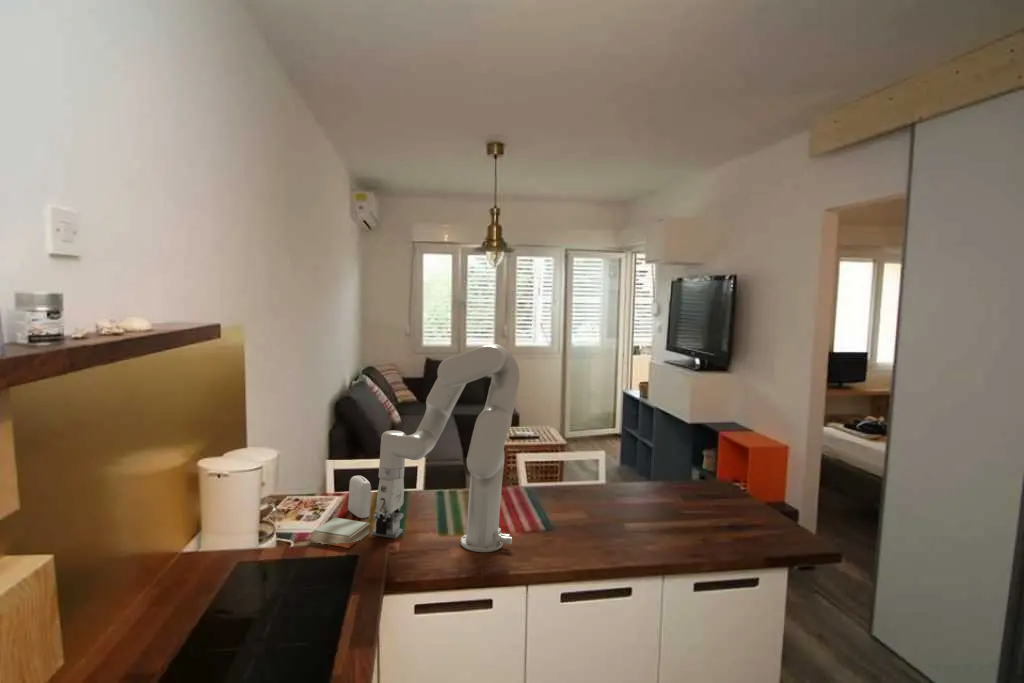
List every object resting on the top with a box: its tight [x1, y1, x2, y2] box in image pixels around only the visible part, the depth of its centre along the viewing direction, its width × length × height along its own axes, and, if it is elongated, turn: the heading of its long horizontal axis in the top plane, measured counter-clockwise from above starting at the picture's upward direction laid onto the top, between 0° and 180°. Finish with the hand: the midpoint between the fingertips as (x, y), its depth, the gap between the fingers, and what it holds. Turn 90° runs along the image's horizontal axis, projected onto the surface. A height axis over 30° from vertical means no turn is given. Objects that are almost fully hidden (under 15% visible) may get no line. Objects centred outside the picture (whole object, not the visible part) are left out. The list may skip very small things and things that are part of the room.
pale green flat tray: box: [310, 517, 371, 545], centre depth 156 cm, size 12×12×3 cm
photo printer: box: [347, 475, 372, 519], centre depth 176 cm, size 10×4×12 cm, turn 39°
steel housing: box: [371, 512, 404, 539], centre depth 161 cm, size 8×5×6 cm, turn 78°
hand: (387, 528), depth 161 cm, fingers open, 8 cm apart
